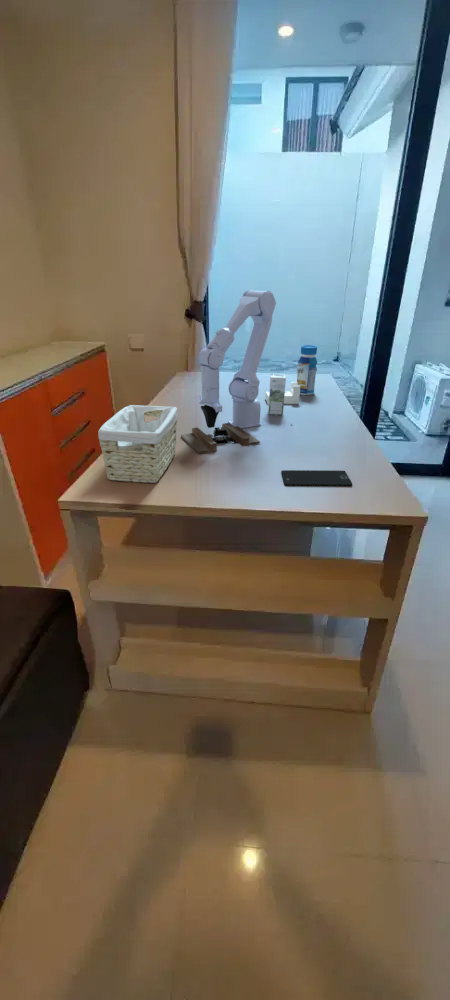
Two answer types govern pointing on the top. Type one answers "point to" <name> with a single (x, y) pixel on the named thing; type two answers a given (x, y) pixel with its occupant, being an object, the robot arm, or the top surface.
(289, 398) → the bracket
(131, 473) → the storage basket
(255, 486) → the top surface
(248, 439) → the wooden stepped rails
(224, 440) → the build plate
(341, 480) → the cell phone
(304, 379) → the beverage bottle
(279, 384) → the syrup box
